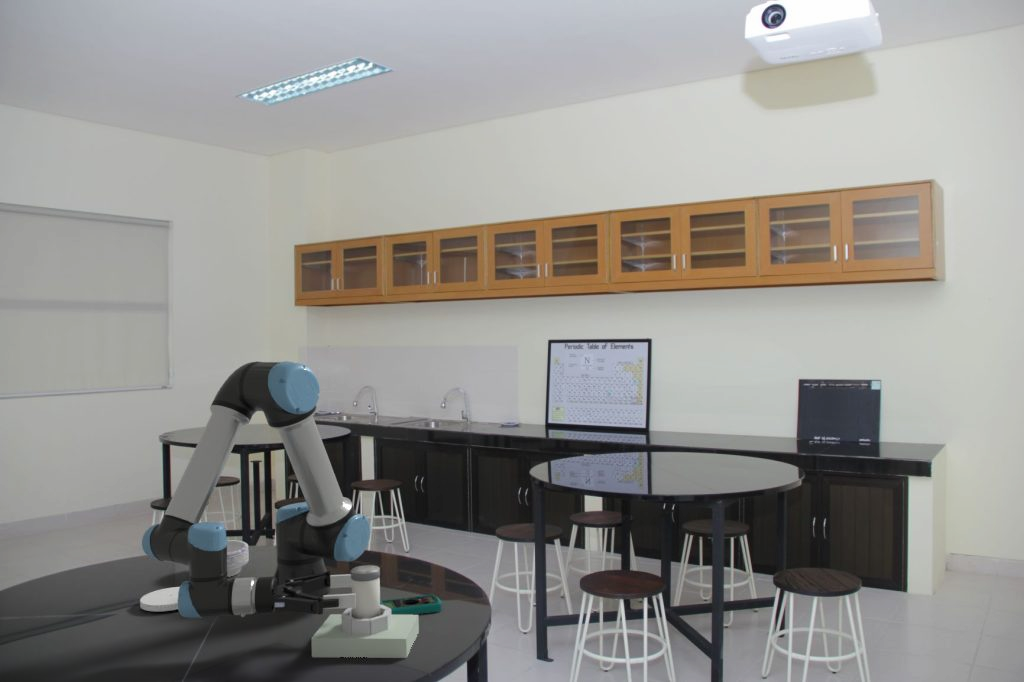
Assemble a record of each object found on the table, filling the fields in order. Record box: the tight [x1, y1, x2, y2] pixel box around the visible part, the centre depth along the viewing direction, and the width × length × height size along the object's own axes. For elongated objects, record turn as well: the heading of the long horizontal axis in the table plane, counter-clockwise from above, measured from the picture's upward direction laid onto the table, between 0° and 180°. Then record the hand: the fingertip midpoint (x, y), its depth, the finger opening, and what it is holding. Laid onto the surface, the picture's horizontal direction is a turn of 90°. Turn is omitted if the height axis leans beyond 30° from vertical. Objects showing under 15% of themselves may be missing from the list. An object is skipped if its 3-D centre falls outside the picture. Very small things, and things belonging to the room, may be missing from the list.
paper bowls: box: [227, 539, 250, 578], centre depth 227 cm, size 15×15×8 cm
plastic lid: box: [139, 586, 180, 613], centre depth 203 cm, size 14×14×2 cm
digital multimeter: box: [380, 593, 442, 615], centre depth 195 cm, size 7×15×3 cm, turn 109°
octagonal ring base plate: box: [311, 604, 420, 659], centre depth 174 cm, size 14×20×7 cm
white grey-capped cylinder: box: [350, 564, 381, 619], centre depth 174 cm, size 6×6×12 cm
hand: (358, 589), depth 174 cm, fingers open, 13 cm apart
